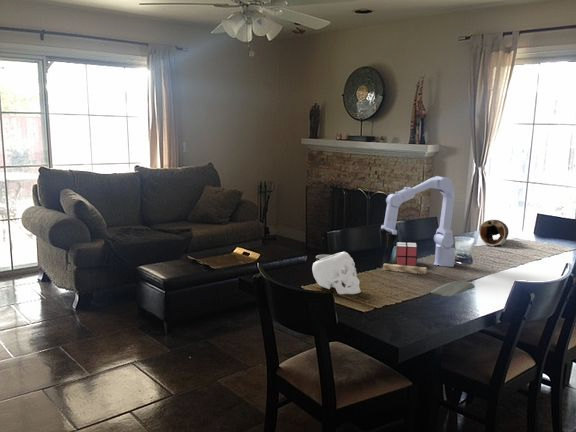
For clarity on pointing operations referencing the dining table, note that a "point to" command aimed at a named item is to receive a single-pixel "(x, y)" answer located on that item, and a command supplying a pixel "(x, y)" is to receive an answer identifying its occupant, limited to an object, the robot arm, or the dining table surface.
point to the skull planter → (337, 273)
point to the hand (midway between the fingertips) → (386, 246)
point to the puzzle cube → (406, 254)
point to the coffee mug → (321, 257)
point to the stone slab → (452, 288)
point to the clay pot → (493, 232)
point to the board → (404, 268)
